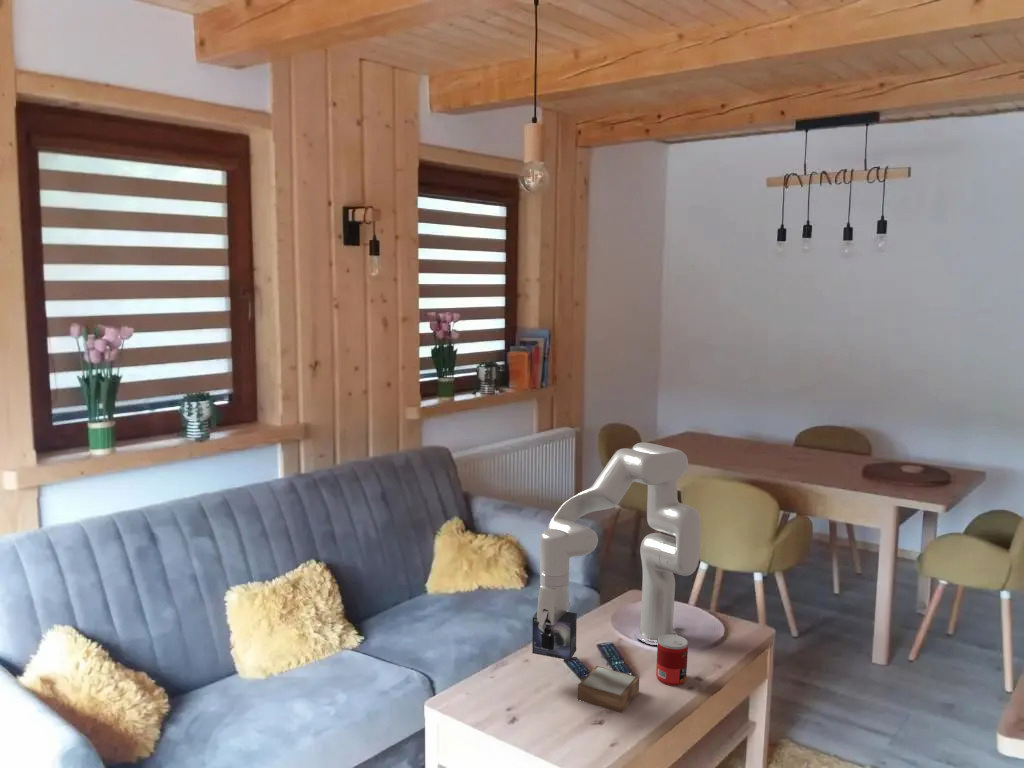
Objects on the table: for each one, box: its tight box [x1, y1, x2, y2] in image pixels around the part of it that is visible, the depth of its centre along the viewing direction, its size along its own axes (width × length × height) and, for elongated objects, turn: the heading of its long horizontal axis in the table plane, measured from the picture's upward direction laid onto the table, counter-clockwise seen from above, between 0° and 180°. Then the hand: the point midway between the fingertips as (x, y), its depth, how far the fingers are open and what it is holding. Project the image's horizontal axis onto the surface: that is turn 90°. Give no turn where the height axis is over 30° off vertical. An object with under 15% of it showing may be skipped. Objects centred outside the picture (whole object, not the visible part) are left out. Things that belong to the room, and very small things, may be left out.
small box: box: [531, 609, 578, 661], centre depth 220 cm, size 11×6×10 cm, turn 70°
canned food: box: [655, 634, 689, 687], centre depth 225 cm, size 8×8×11 cm
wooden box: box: [576, 665, 640, 714], centre depth 216 cm, size 12×12×4 cm
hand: (554, 641), depth 220 cm, fingers closed on small box, 6 cm apart
